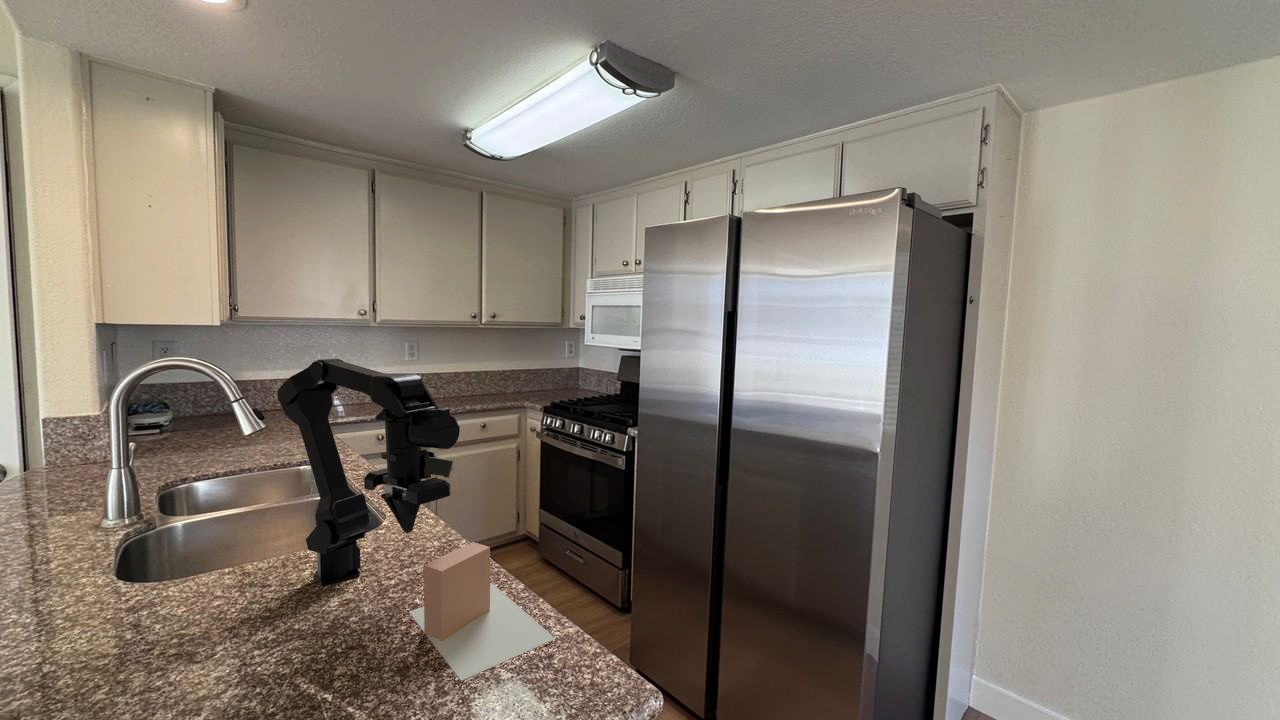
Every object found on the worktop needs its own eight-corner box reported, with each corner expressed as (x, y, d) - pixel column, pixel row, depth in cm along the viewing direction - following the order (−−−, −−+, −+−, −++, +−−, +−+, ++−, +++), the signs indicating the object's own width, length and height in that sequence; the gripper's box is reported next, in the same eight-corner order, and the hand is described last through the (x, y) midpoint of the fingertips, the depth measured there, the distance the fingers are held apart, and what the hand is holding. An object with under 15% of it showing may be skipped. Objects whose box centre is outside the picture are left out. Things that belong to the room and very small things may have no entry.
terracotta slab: (424, 633, 81) (423, 565, 80) (473, 603, 90) (472, 541, 89) (442, 641, 79) (441, 571, 78) (490, 610, 88) (490, 547, 87)
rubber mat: (461, 684, 71) (461, 680, 71) (408, 614, 87) (408, 611, 87) (555, 641, 81) (555, 638, 80) (492, 586, 97) (492, 583, 97)
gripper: (474, 442, 93) (478, 527, 94) (417, 433, 104) (421, 509, 105) (416, 454, 84) (421, 549, 85) (360, 443, 95) (365, 527, 96)
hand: (408, 531), depth 93 cm, fingers closed
